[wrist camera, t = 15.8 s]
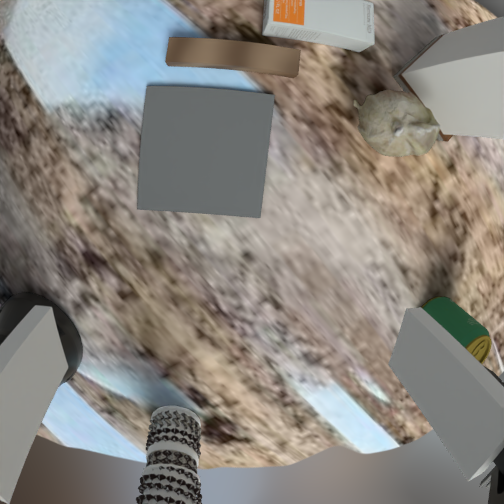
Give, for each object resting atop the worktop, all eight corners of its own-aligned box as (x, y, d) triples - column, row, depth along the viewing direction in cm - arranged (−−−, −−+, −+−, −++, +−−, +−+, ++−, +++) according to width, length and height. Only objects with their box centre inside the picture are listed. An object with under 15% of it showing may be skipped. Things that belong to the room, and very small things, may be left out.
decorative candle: (193, 400, 45) (190, 547, 21) (209, 433, 48) (214, 562, 24) (140, 406, 44) (116, 542, 21) (160, 438, 47) (150, 560, 24)
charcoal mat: (138, 208, 34) (137, 209, 34) (147, 86, 30) (146, 86, 29) (259, 217, 36) (260, 218, 36) (273, 95, 32) (274, 95, 31)
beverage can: (404, 321, 44) (446, 366, 32) (439, 284, 42) (487, 322, 31) (424, 344, 46) (461, 387, 35) (456, 311, 45) (498, 348, 33)
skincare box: (269, -21, 23) (374, 1, 25) (263, -5, 27) (359, 12, 29) (267, 24, 25) (375, 45, 27) (261, 37, 29) (359, 53, 31)
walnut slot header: (168, 66, 29) (165, 62, 27) (188, -37, 25) (187, -45, 23) (293, 78, 31) (298, 74, 29) (303, -24, 26) (307, -31, 24)
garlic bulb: (418, 133, 34) (469, 136, 25) (378, 175, 36) (424, 188, 26) (374, 75, 32) (420, 60, 22) (329, 116, 33) (367, 109, 24)
